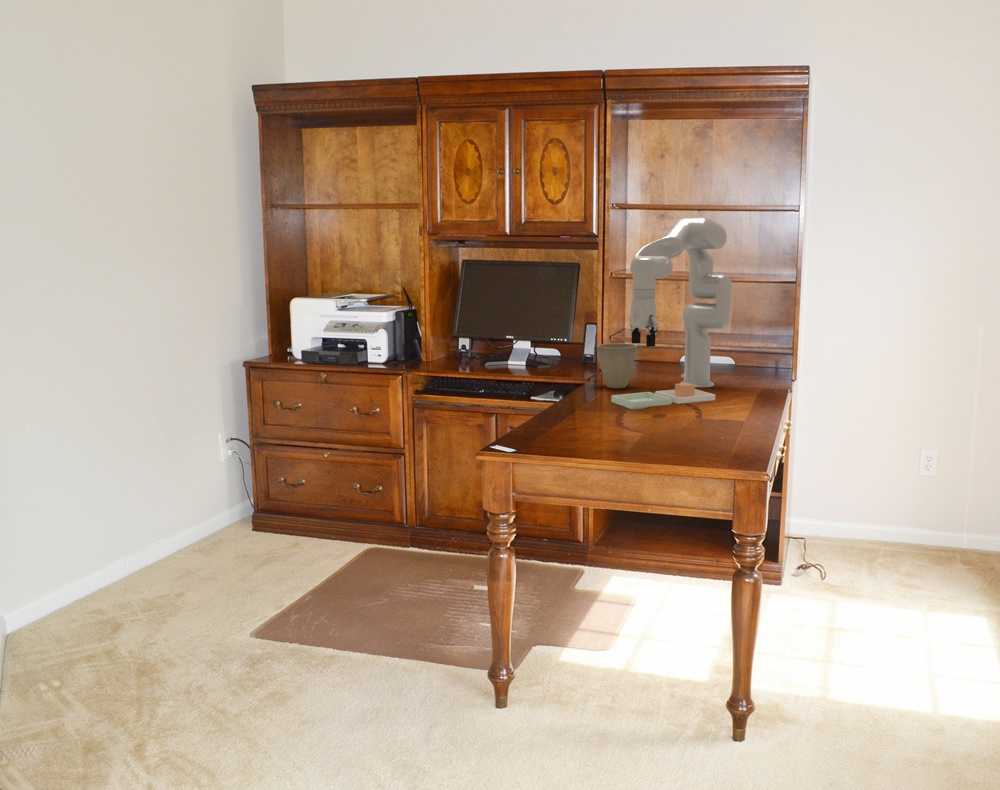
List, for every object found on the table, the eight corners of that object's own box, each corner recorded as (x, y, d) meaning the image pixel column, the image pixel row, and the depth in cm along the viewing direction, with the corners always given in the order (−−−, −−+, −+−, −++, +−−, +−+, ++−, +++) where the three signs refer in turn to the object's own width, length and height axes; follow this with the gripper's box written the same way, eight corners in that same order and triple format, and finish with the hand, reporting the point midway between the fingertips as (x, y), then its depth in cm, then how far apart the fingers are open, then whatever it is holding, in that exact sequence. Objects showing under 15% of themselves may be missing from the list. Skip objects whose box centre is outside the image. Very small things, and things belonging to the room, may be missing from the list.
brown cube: (674, 397, 335) (675, 383, 334) (686, 396, 337) (687, 382, 336) (682, 400, 330) (682, 385, 330) (694, 398, 332) (695, 384, 331)
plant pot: (643, 386, 363) (644, 344, 361) (621, 391, 352) (621, 348, 350) (611, 382, 373) (612, 342, 370) (589, 387, 362) (589, 346, 360)
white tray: (655, 398, 338) (655, 391, 337) (691, 394, 343) (691, 388, 343) (677, 405, 324) (678, 398, 324) (715, 401, 330) (715, 394, 329)
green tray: (611, 402, 332) (611, 395, 331) (648, 398, 337) (649, 391, 337) (632, 409, 318) (632, 402, 317) (671, 406, 323) (671, 398, 323)
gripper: (621, 293, 327) (621, 342, 330) (647, 296, 311) (646, 348, 314) (640, 292, 330) (639, 341, 333) (667, 295, 314) (666, 346, 317)
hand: (643, 344), depth 324 cm, fingers open, 9 cm apart
